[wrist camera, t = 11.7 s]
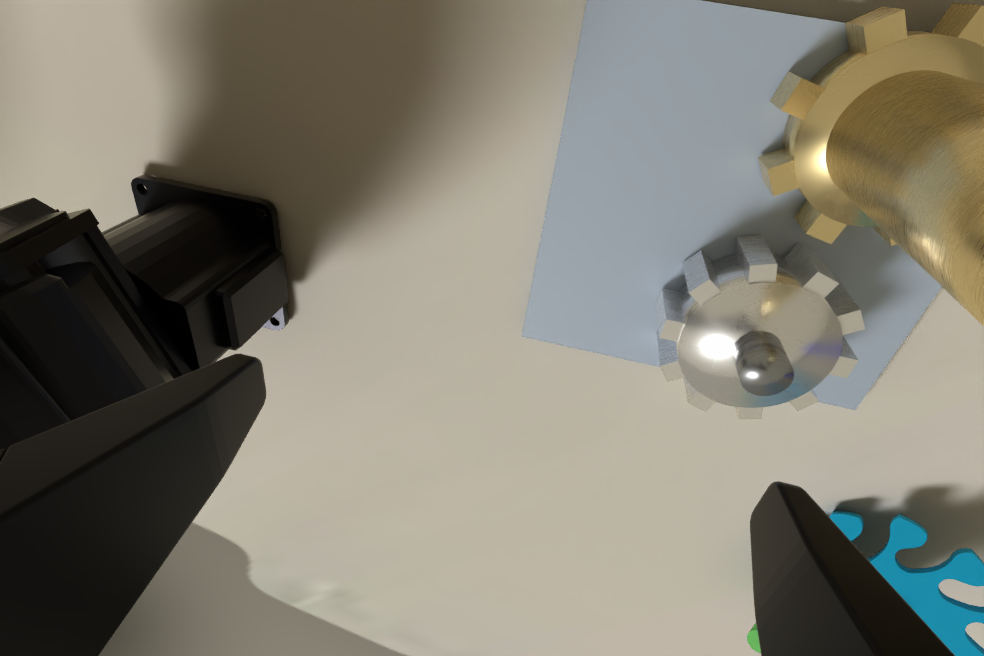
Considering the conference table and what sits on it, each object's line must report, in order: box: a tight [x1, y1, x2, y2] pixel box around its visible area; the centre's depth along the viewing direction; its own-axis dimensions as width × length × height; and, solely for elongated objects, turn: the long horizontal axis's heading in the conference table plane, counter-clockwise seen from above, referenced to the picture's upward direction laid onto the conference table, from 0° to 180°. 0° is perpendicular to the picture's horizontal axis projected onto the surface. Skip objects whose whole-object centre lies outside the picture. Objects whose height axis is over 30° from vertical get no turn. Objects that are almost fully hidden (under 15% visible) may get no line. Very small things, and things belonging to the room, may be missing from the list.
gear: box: [747, 511, 984, 656], centre depth 26 cm, size 11×6×10 cm
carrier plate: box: [522, 0, 942, 410], centre depth 19 cm, size 14×13×1 cm
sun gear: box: [656, 235, 865, 419], centre depth 19 cm, size 6×6×4 cm
